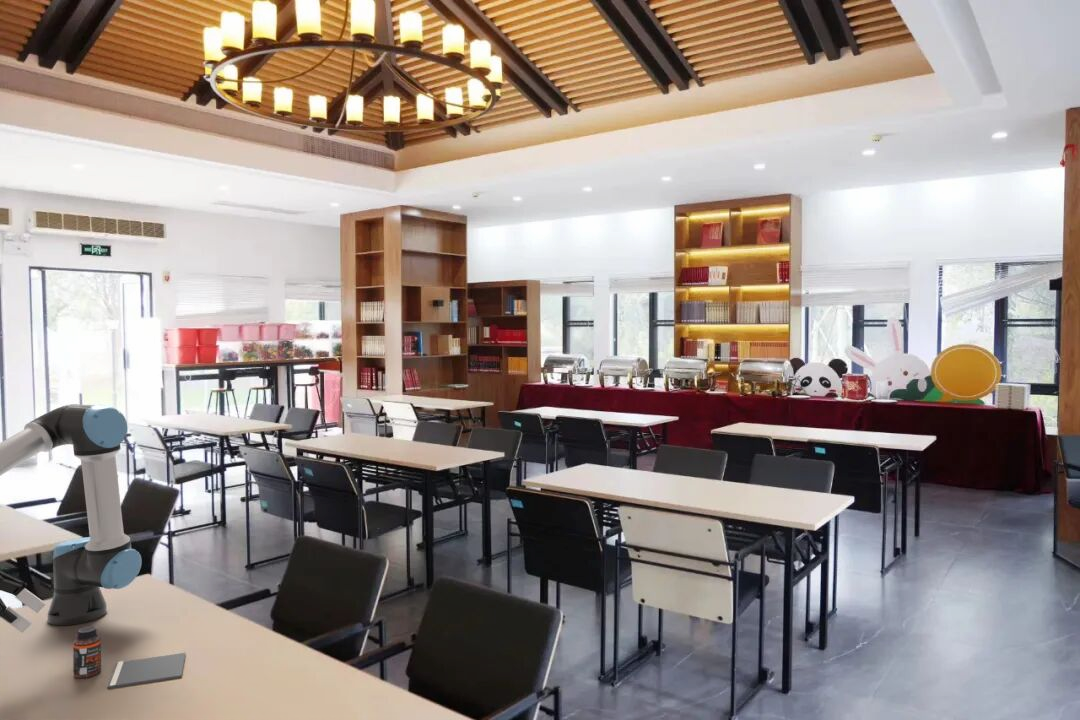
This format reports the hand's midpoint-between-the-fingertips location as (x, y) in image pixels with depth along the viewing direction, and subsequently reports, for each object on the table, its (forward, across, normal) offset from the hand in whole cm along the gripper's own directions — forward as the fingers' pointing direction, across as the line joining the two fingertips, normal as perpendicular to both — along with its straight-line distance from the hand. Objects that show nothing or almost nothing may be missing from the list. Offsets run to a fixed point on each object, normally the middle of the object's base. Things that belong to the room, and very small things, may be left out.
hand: (35, 617), depth 182 cm
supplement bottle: (+19, 0, -4) cm, 19 cm away
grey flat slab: (+29, +4, +7) cm, 30 cm away
